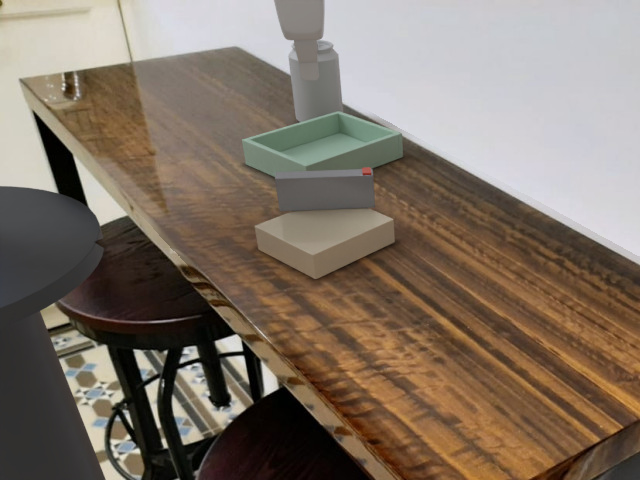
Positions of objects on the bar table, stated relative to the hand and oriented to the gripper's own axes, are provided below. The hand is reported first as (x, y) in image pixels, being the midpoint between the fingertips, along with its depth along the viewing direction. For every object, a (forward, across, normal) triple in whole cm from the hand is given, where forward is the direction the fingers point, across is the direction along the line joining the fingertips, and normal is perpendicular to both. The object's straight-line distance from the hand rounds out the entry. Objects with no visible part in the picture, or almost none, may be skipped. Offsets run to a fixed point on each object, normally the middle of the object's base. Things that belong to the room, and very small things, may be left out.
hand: (310, 65), depth 77 cm
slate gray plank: (+16, -1, 0) cm, 16 cm away
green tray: (+19, -23, 0) cm, 30 cm away
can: (+19, -39, -1) cm, 44 cm away
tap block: (+19, +4, 0) cm, 20 cm away
